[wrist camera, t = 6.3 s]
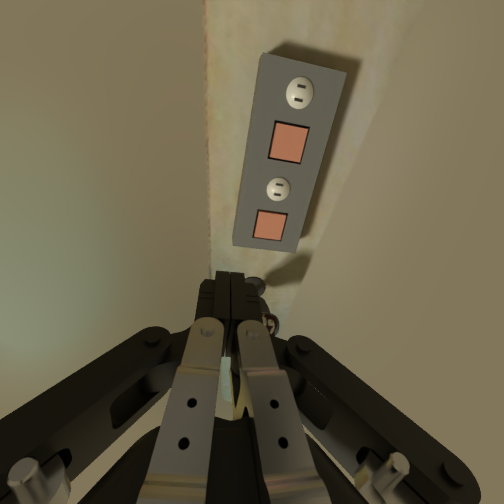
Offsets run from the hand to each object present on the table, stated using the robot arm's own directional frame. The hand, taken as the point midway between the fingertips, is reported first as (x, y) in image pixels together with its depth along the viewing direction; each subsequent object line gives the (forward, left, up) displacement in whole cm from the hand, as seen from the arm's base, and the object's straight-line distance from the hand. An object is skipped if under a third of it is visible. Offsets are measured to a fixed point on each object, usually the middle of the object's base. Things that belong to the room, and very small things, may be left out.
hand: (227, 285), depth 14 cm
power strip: (-3, +7, -27) cm, 28 cm away
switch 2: (-6, +7, -26) cm, 27 cm away
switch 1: (+5, +7, -26) cm, 27 cm away
